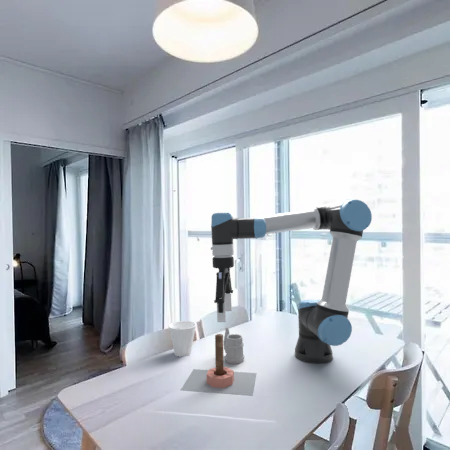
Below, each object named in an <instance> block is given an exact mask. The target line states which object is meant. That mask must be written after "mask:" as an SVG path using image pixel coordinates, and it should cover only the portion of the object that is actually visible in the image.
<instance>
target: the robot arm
mask: <svg viewBox="0 0 450 450" xmlns="http://www.w3.org/2000/svg"><path fill="white" fill-rule="evenodd" d="M372 219H373V216H372V212H371V209H370V207H369V206H368V204H367V203H366V202H364V201H362V200H359V199H345V200H340V201H334V202H333V201H332V202H330V203H326V204H322V205H318V206H312V207H311V208H310V209H307V210H299V211H291V212H283V213H275V214H267V215H259V216H258V215H257V216H252V217H251V216H250V217H238V218H237V217H233V213H232V212H214V213H212V215H211V224H210V225H211V226H210V227H211V230H210V231H211V245H212V246H211V247H210V250H211V251H212V256H213V257H212V267H213V268H214V269H218V271H217V272H216V286H215V298H214V300H213V301H214V304H216V314H217V317H216V319H217V323H226V322H227V319H226V316H227V315H226V312H232V309H233V308H232V306H233V305H232V294H233V292H234V289H233V288H232V280H231V279H232V278H231V271H230V270H231V269H232V268H234V266H235V260H234V253H235V252H234V240H238V239H239V240H241V239H247V240H248V239H262V238H264V237H266V235H268V234H277V233H286V232H291V231H292V232H293V231H300V230H307V229H313V230H314V231H318V230H329V233H330V235H331V237H332V242H331V247H330V252H329V257H328V258H329V259H328V263H327V268H326V273H325V280H324V285H323V291H322V297H321V299H305V300H300V301H299V302H298V307H297V311H298V315H297V316H298V338H297V341H296V345H295V348H294V356H295V357H296V358H297V359H299V361H300V360H301V361H303V362H307V363H311V364H324V363H328V362H331V361H332V360H333V355H334V353H333V350H332V347H336V346H337V347H338V346H341V345H343V344H344V343H346V342H347V341H348V340H349V338H350V337H351V335H352V332H353V327H352V323H351V322H350V319H349V313H350V310H349V308H348V306H347V305H346V303H347V300H348V299H347V298H348V293H349V287H350V281H351V276H352V270H353V265H354V264H353V263H354V259H355V255H356V254H355V253H356V248H357V247H356V246H357V242H358V241H360V240H361V239H362V238H363V234H364V231H365V230H367V228H368V227H370V225H371V223H372ZM331 346H332V347H331Z"/></svg>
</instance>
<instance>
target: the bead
mask: <svg viewBox="0 0 450 450" xmlns="http://www.w3.org/2000/svg"><path fill="white" fill-rule="evenodd" d="M207 370H208V372H207V383H208V384H209V385H210V386H212V387H217V388H225V387H227V386H230V385H232V384H233V381H234V372H235V371H234V370H233V369H231V368H229V367H228V366H224V375H223V376H217V375H216V366H214V367H212V368H209V369H207Z"/></svg>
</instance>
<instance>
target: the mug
mask: <svg viewBox="0 0 450 450" xmlns="http://www.w3.org/2000/svg"><path fill="white" fill-rule="evenodd" d="M243 342H244V341H243V335H241V334H237V333H236V334H234V333H231V334H230V329H229V327H228V326H227V327H225V332H224V335H223V351H224V352H225V356H224V358H225V361H226V362H227V363H228V364H233V365H238V364H241V363H243V362H244V359H245V355H244V343H243Z"/></svg>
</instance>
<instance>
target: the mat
mask: <svg viewBox="0 0 450 450" xmlns="http://www.w3.org/2000/svg"><path fill="white" fill-rule="evenodd" d="M208 370H209V369H199V368H198V369H197V368H193V369H192V371H191V373H190V374H189V375H188V377H187V379H186V380H185V382H184V384H183V385H182V387H181V389H180V391H183V392H184V391H187V392H198V393H199V392H200V393H210V394H223V395H224V394H225V395H238V396H239V395H240V396H251V397H253V395H254V390H255V385H256V380H257V372H243V371H234V381H233V384H232V385H230V386H227V387H225V388H217V387H212V386H210V385H209V384H208V383H207V372H208Z"/></svg>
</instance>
